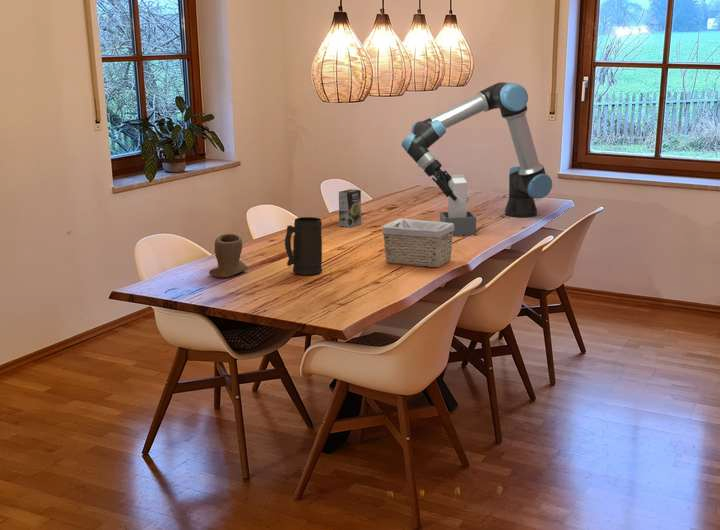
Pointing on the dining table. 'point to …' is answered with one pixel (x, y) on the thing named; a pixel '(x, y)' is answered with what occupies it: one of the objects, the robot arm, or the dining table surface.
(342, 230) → the dining table surface
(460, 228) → the tray
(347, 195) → the coffee box
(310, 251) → the beer stein
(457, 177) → the milk
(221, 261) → the stone cup
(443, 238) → the storage basket
